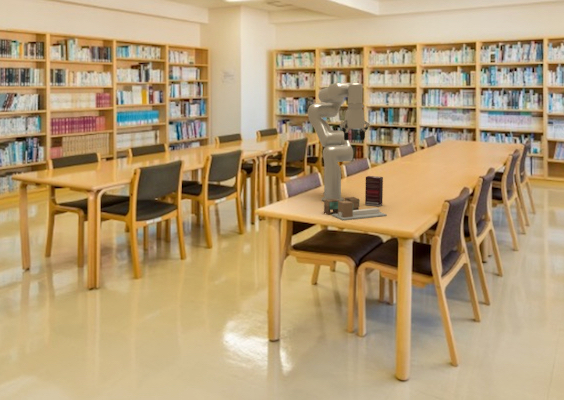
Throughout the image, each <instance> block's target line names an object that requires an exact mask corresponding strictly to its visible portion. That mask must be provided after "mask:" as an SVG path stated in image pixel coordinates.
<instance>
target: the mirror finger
mask: <svg viewBox="0 0 564 400" xmlns="http://www.w3.org/2000/svg"><path fill="white" fill-rule="evenodd" d="M344 201H350V202H352V203H353V210H360V202H361V201H360V198H359V197H358V198H357V197H354V196H351V197H350V196H349V197H344Z"/></svg>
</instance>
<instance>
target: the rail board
mask: <svg viewBox="0 0 564 400" xmlns="http://www.w3.org/2000/svg"><path fill="white" fill-rule="evenodd" d="M387 215H388V214H386V213H384V212H380V208H378V207H372V208H364V209H359V210H353V203H352V202H350V201H345V200H343V201H338V214H336V213H332V214H331V216H332V217H335V218H337V219H339V220H341V221H343V220H344V221H352V219H353V220H362V219H368V218H369V219H370V218H371V219H373V218H379V217H387Z"/></svg>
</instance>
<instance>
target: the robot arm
mask: <svg viewBox="0 0 564 400" xmlns="http://www.w3.org/2000/svg"><path fill="white" fill-rule="evenodd" d="M363 90H364V89H363V84H362V83H360V82H335V83H331V84H329V85H328V86H327V87H324V88H322V89H321V90H320V91H319V92H318V95H317V96H318V97H317V98H318V100H319V101H321V102H320V103H318V102H317V103H313V104H311V105H309V106H308V109H307V116H308V121H309V123H310V124H311V126H312V127H313V129H314V130H315V132H316V133H315V134H316V136H317V138H318V140H319V142H320V144H321V146H322V147H323V150H322V157H323V162H324V163H323V165H324V166H323V167H324V171H323V172H324V178H323V179H324V182H323V183H324V186H323V187H324V189H323V190H324V191H323V193H322V194H323V195H324V196H322V197H321V201H323V202H324V200H326V199H336V200H339V201H344V197H342V168H341V167H340V165H339V162H350V161H351V160H353V158H354V149H353V147H352V145H351V142H350V140H349V131H350V130H360V132H359V133H360V140H362V141H364V140H365V137H366V132H367V130H368V129H369V126H370V122H367V121H365V112H364V109H363V108H365V105H364V104H363ZM344 98H347V109H346V111H345V112H344V113H345V114H344V121H343V122H341V123H340V124H339V127H340V130H332V129H331V127H330V124H329V123H328V122H327V121H326V120H325V119H324V118H326V119H327V118H334V117H336V116H337V115H338V114H339V111H340V109H341V107H342V104H343V102H344Z"/></svg>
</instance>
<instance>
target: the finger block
mask: <svg viewBox="0 0 564 400" xmlns="http://www.w3.org/2000/svg"><path fill="white" fill-rule="evenodd" d="M338 201H339V200H336V199H326V200H324V201H323V210H324V211H323V213H324V214H325V213H326V215H328V216H330V215H331V211H332V213H333V214H338Z"/></svg>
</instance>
